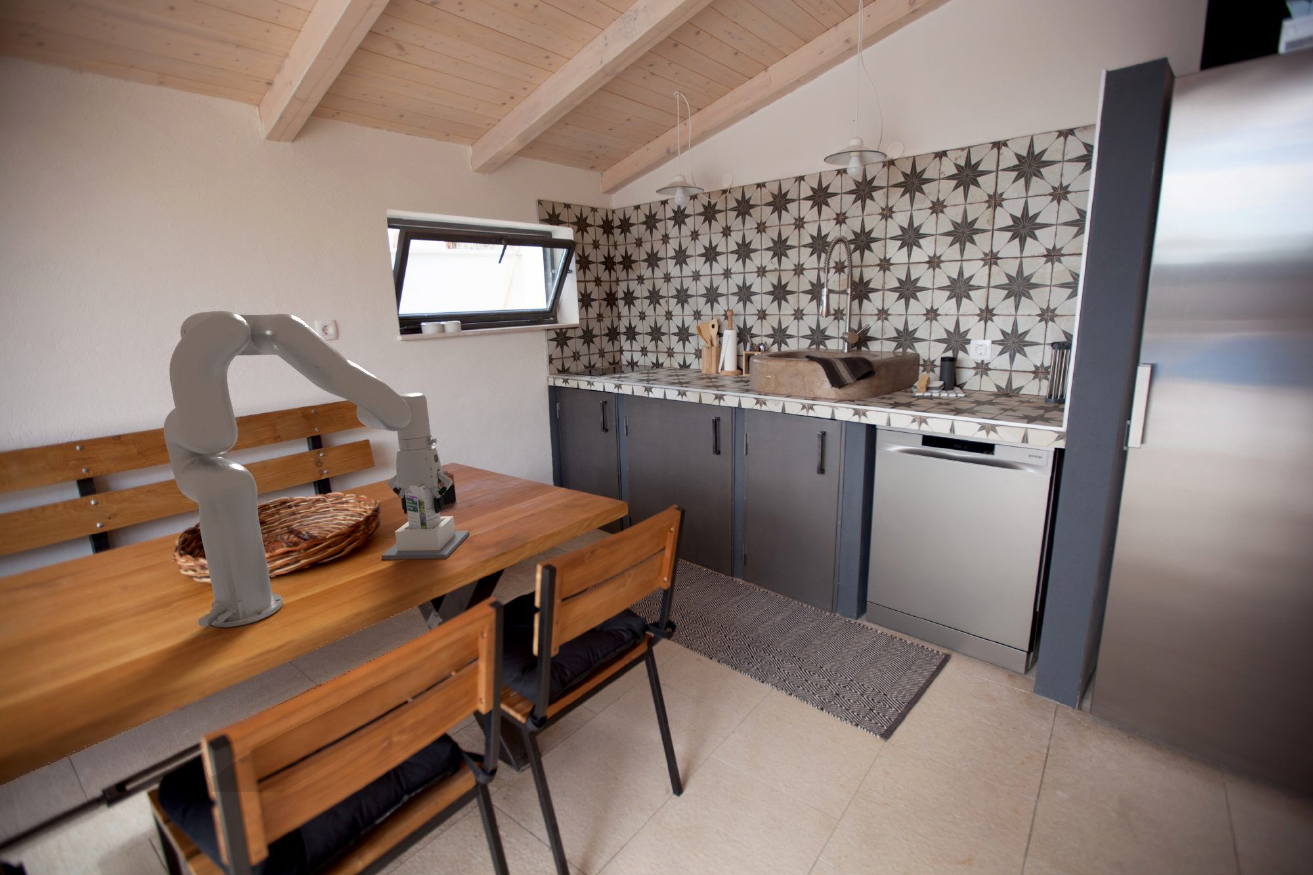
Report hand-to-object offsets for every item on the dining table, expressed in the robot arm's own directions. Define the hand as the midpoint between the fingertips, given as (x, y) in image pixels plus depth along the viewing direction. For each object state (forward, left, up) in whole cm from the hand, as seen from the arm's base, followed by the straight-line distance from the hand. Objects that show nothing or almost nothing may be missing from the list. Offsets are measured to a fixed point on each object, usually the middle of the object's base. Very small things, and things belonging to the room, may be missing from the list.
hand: (423, 511), depth 153 cm
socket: (0, 0, -9) cm, 9 cm away
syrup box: (0, 0, -7) cm, 7 cm away
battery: (+35, +10, -10) cm, 38 cm away
